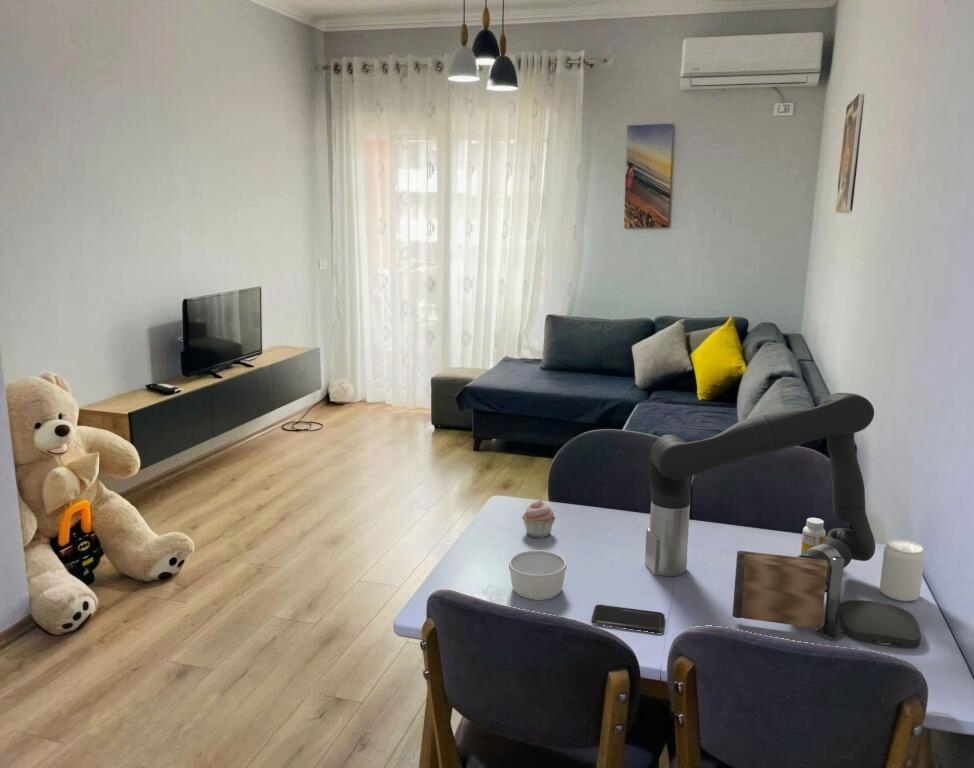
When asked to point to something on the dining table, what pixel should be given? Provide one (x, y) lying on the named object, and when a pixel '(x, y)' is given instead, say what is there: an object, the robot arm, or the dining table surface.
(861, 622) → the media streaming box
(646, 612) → the phone
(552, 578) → the ramekin
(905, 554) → the beverage can
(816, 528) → the supplement bottle
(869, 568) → the dining table surface
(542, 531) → the cupcake
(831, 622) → the gate post
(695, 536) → the dining table surface
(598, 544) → the dining table surface
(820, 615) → the wooden gate
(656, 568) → the robot arm
